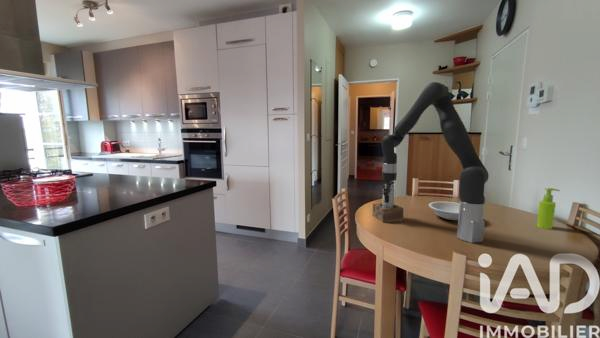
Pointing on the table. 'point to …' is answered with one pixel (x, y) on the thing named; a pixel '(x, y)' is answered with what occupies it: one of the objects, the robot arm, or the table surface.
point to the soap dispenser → (546, 210)
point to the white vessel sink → (446, 209)
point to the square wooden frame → (387, 213)
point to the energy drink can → (391, 200)
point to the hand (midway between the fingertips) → (388, 201)
